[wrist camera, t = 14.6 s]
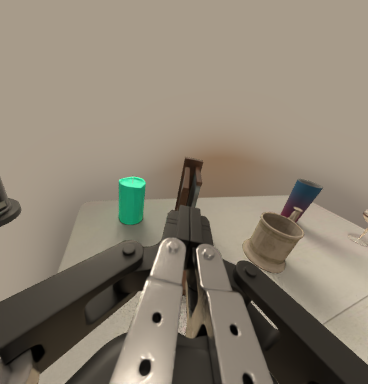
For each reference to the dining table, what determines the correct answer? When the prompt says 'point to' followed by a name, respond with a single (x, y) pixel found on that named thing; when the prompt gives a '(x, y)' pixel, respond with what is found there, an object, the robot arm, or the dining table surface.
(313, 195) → the cup
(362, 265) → the dining table surface
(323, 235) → the dining table surface
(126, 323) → the dining table surface
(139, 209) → the candle
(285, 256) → the mug
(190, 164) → the screen frame
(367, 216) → the wineglass
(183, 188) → the glass door
